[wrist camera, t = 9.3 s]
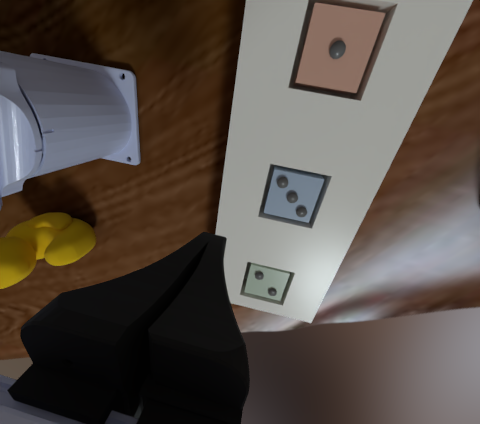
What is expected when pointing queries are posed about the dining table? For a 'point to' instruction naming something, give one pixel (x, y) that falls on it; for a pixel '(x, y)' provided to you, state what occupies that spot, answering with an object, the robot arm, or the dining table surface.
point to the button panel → (318, 139)
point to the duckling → (43, 245)
